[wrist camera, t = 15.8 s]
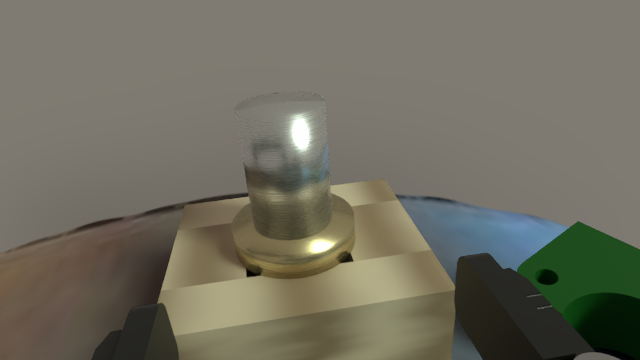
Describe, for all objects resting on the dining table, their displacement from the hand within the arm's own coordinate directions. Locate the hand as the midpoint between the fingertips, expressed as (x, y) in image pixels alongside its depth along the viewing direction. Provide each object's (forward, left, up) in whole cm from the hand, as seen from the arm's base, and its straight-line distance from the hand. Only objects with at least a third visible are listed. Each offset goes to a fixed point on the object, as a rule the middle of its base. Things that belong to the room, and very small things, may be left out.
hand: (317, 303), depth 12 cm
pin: (0, +11, -12) cm, 16 cm away
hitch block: (0, +12, -12) cm, 16 cm away
